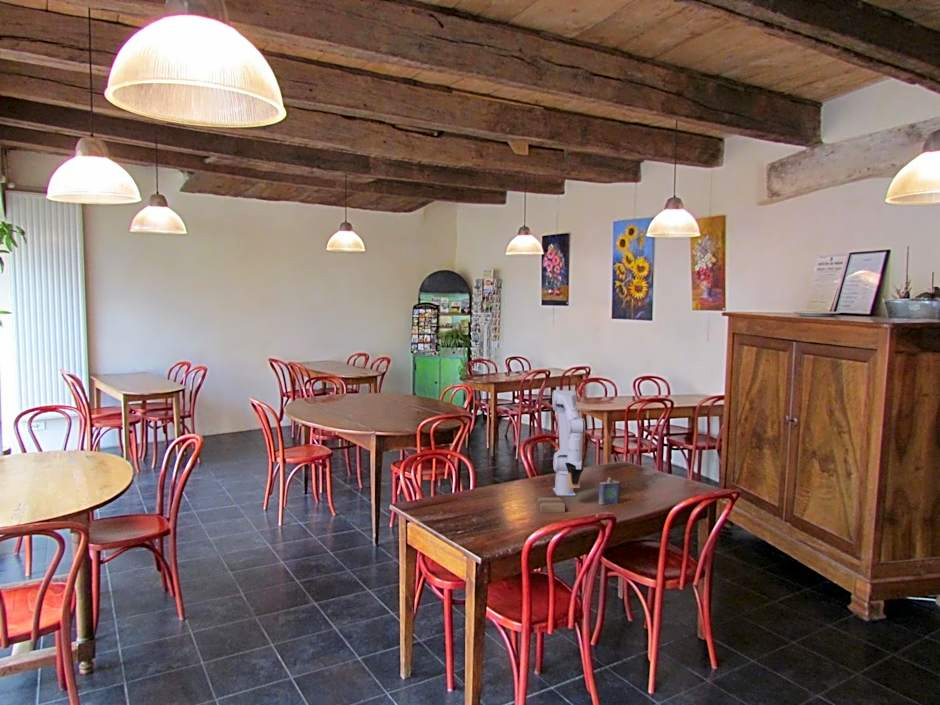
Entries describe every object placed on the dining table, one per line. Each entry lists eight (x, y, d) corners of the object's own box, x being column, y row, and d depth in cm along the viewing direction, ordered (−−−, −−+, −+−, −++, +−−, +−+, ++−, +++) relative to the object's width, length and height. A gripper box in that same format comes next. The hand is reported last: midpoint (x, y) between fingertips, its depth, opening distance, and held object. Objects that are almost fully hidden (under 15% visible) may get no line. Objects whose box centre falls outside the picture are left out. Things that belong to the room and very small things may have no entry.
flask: (600, 505, 259) (601, 479, 258) (596, 503, 261) (597, 477, 260) (620, 504, 262) (621, 478, 261) (616, 501, 264) (617, 476, 263)
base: (537, 504, 258) (537, 497, 257) (559, 504, 258) (559, 497, 258) (541, 512, 249) (541, 504, 248) (564, 512, 249) (564, 504, 249)
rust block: (567, 484, 259) (567, 472, 259) (577, 484, 259) (577, 472, 259) (569, 487, 255) (570, 475, 255) (579, 487, 255) (580, 475, 255)
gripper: (560, 444, 263) (559, 477, 264) (569, 453, 248) (567, 487, 250) (577, 444, 263) (576, 477, 265) (587, 453, 249) (585, 487, 250)
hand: (573, 482), depth 257 cm, fingers closed on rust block, 4 cm apart
